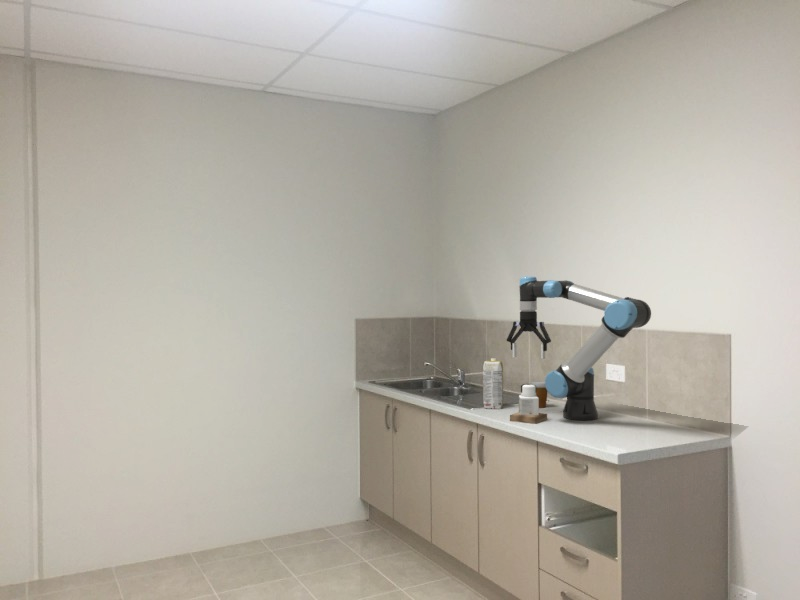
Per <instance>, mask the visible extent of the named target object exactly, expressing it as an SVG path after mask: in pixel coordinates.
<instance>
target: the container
mask: <svg viewBox="0 0 800 600" xmlns="http://www.w3.org/2000/svg"><path fill="white" fill-rule="evenodd" d="M539 409H540V408H539V398H538V397H537V396H536V386H535V385H534V384H530V383H523V384H522V385H520V394H519V395H518V412H519V413H520V414H521V415H539V413H540V411H539Z"/></svg>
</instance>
